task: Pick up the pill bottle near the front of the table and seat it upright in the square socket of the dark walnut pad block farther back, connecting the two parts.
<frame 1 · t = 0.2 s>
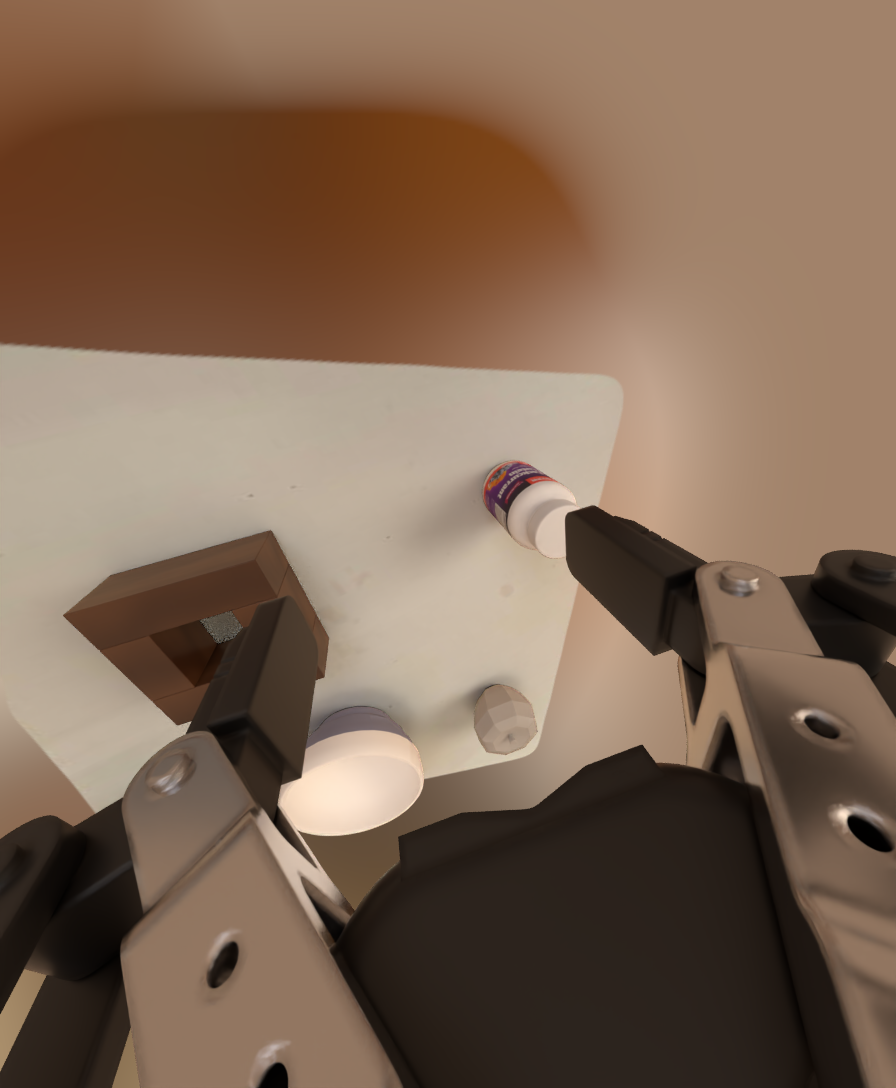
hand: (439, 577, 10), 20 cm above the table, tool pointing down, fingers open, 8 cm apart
pill bottle: (507, 487, 31), on the table
socket pad: (233, 610, 31), on the table
bowl: (355, 727, 41), on the table
apple: (493, 693, 44), on the table
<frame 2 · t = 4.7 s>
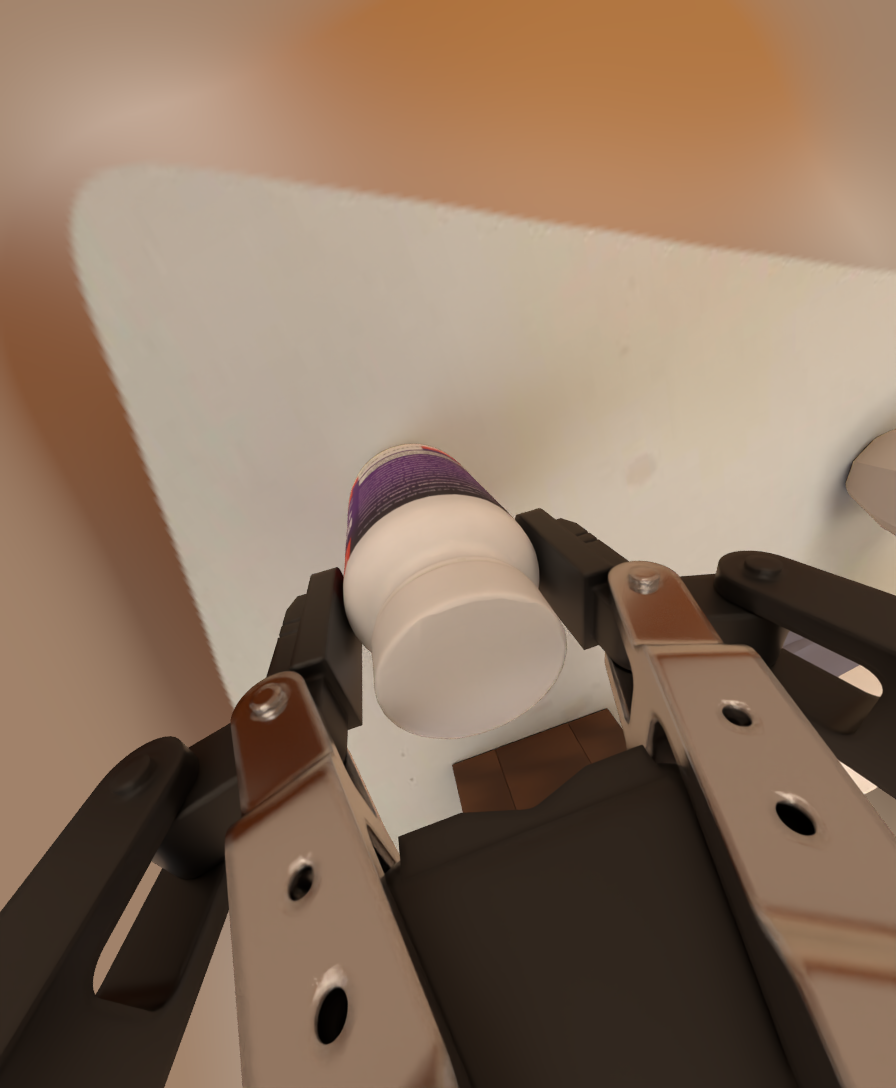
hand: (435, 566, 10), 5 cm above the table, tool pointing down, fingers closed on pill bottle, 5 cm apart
pill bottle: (411, 502, 15), on the table, touching gripper
socket pad: (537, 777, 29), on the table
bowl: (760, 666, 29), on the table
apple: (868, 461, 21), on the table
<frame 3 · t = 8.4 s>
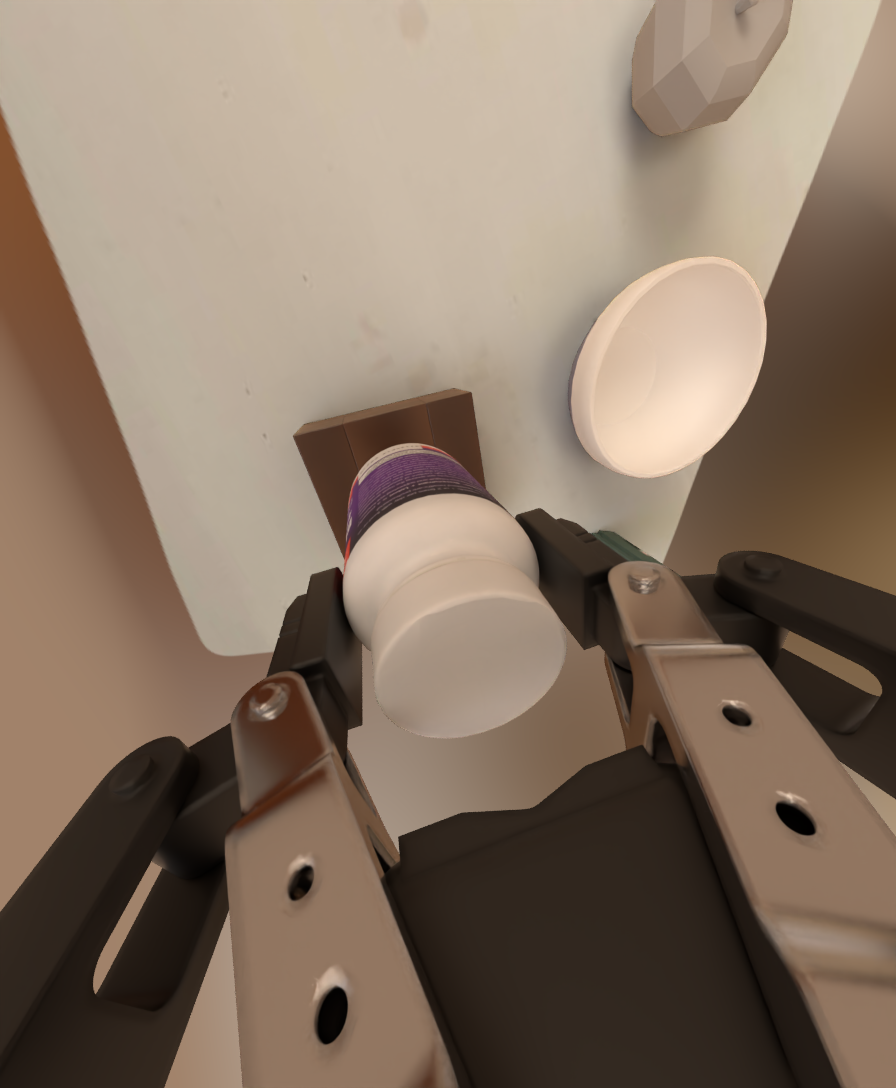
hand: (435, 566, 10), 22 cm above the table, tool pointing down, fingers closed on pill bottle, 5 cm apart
pill bottle: (411, 501, 15), point 16 cm above the table, touching gripper
socket pad: (400, 478, 31), on the table
can: (595, 553, 41), on the table
bowl: (610, 378, 31), on the table
apple: (655, 86, 23), on the table
when the fingers open (5 cm above the table, at t = 12.3 s): pill bottle stays where it is, resting in socket pad.
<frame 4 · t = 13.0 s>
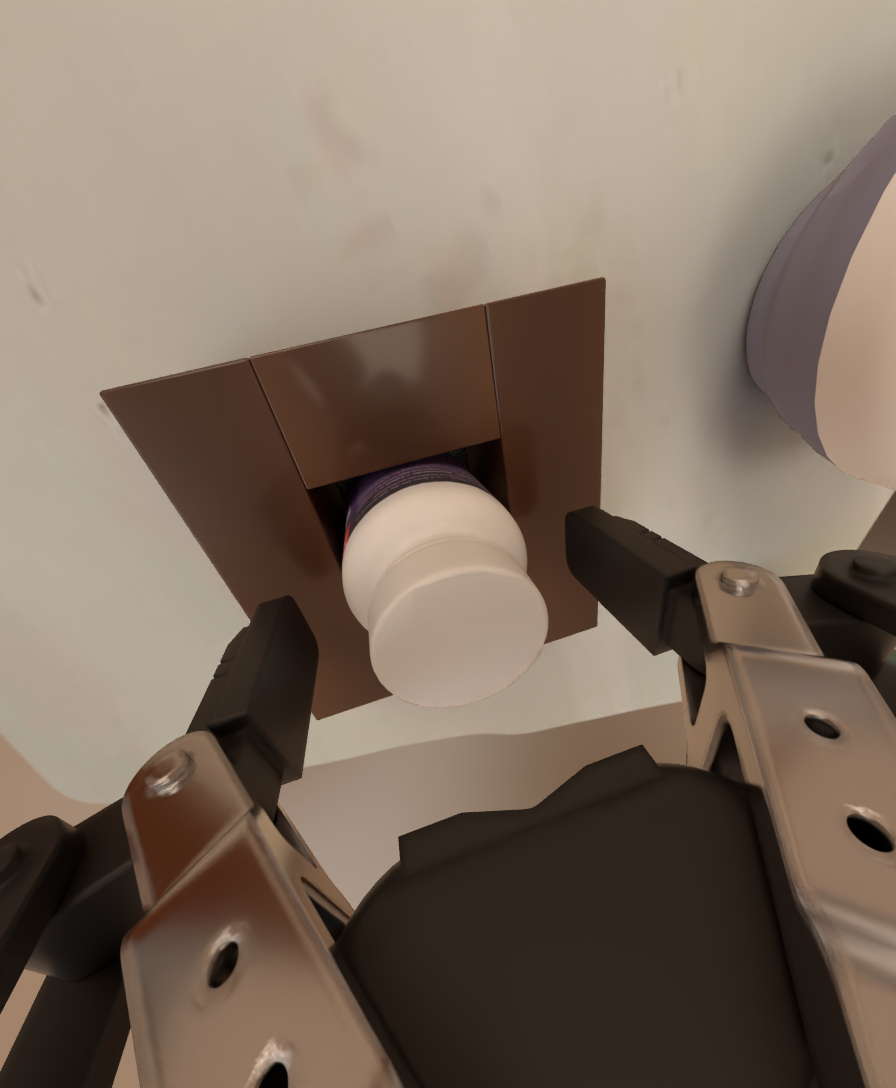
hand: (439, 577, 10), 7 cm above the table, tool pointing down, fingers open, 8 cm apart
pill bottle: (408, 494, 16), resting in socket pad
socket pad: (410, 498, 16), on the table
bowl: (819, 298, 16), on the table
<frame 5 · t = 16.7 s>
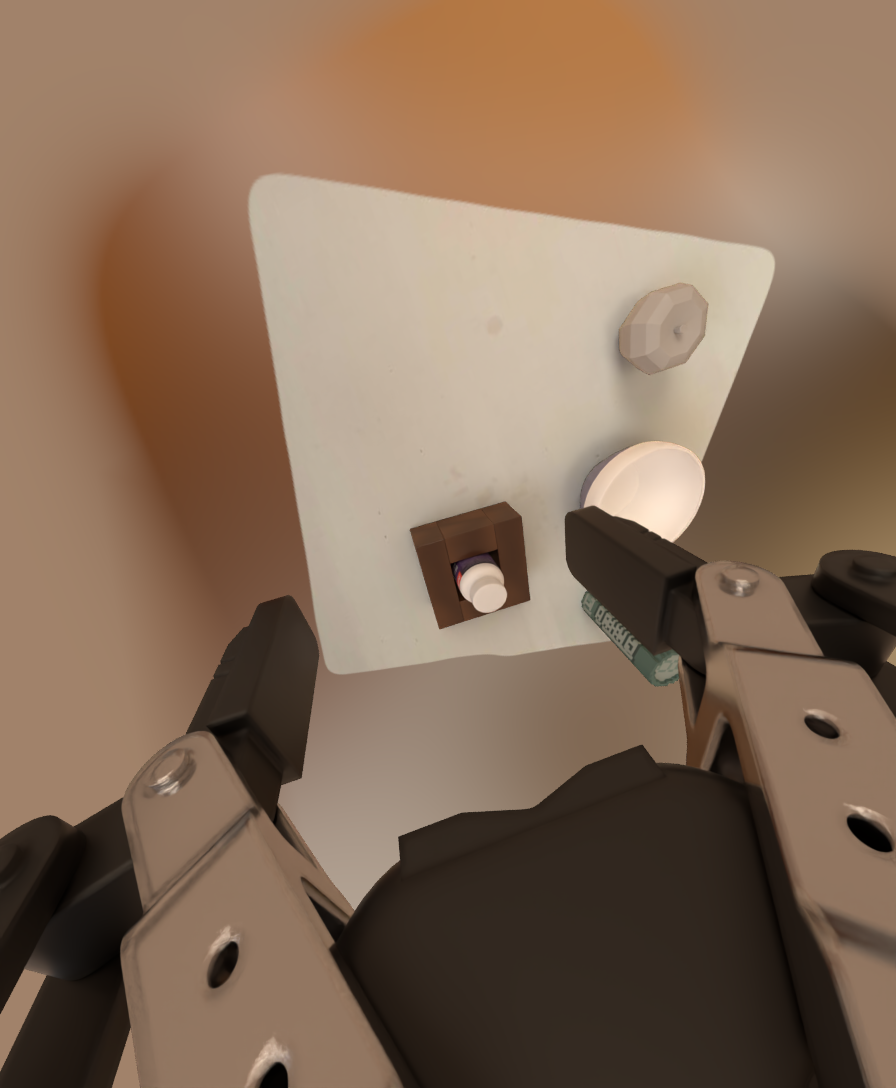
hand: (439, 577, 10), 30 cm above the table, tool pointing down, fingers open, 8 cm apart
pill bottle: (466, 555, 46), resting in socket pad
socket pad: (466, 556, 46), on the table
can: (598, 596, 55), on the table
bowl: (608, 487, 46), on the table
apple: (633, 334, 38), on the table
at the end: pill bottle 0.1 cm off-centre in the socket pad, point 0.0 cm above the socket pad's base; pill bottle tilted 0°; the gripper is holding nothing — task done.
